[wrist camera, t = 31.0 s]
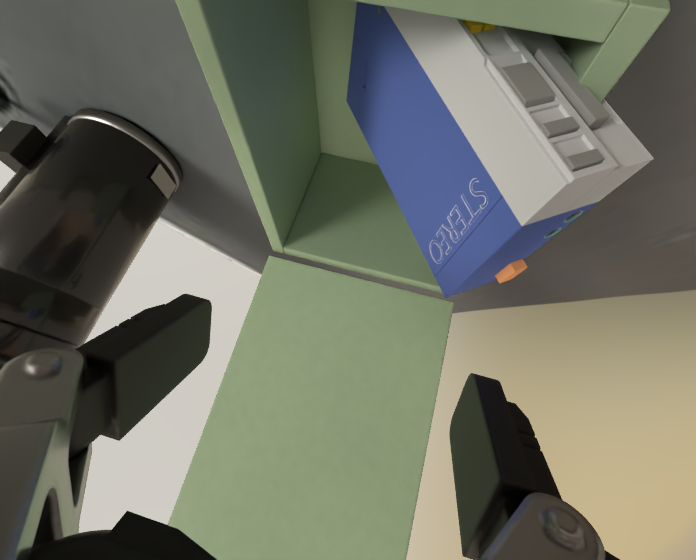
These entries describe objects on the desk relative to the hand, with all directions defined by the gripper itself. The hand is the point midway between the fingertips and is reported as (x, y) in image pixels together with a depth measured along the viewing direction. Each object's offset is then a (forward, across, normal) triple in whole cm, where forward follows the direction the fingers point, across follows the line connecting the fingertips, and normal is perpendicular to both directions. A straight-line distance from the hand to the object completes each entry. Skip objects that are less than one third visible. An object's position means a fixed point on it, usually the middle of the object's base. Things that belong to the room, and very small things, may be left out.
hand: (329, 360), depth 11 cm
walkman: (+9, +2, -11) cm, 15 cm away
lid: (+6, +1, +8) cm, 10 cm away
